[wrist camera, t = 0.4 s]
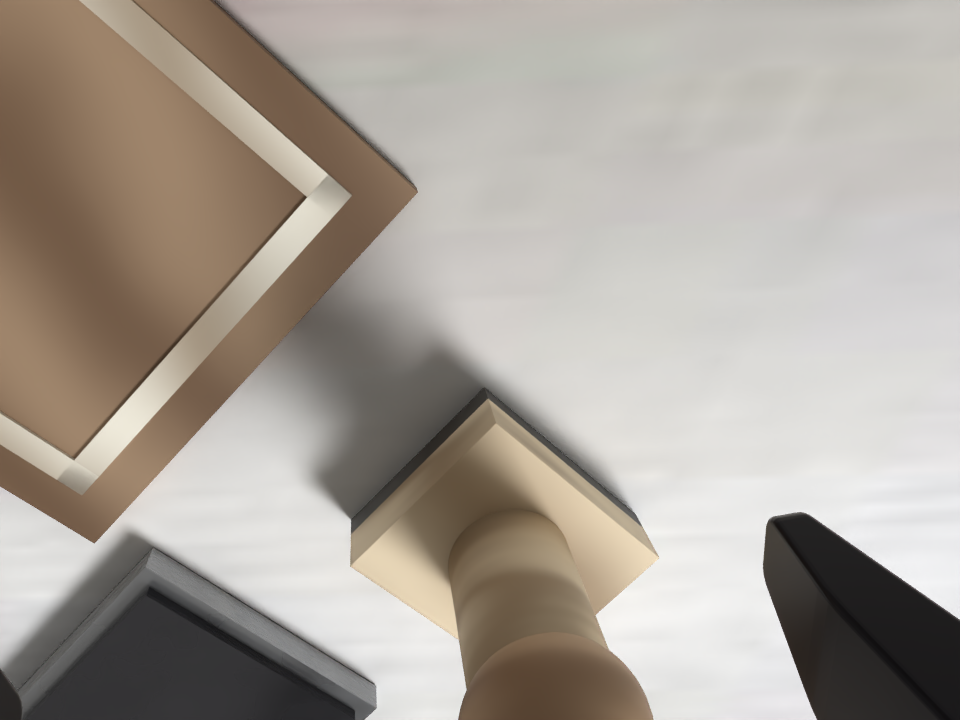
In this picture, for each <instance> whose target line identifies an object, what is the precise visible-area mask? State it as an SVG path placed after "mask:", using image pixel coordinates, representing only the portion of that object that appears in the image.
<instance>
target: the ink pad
mask: <svg viewBox="0 0 960 720" xmlns="http://www.w3.org/2000/svg"><path fill="white" fill-rule="evenodd" d="M17 692H18V694H19V695H20V698H21V701H22V707H23V716H22V720H364V719H365V718H367V717H368V716H369V715H370V714H371V713H372V712H373V711H374V710H375V709H376V708H377V706H376V686H375V685H374V684H372V683H371V682H369V681H367V680H366V679H364V678H363V677H361V676H359V675H358V674H356V673H354V672H353V671H351V670H350V669H348V668H346V667H345V666H343V665H342V664H340V663H338V662H337V661H335V660H334V659H332V658H330V657H329V656H327V655H326V654H324V653H322V652H321V651H319V650H317V649H316V648H314V647H313V646H311V645H309V644H308V643H306V642H305V641H303V640H301V639H300V638H298V637H297V636H295V635H293V634H292V633H290V632H289V631H287V630H285V629H284V628H282V627H281V626H279V625H277V624H276V623H274V622H272V621H271V620H269V619H268V618H266V617H264V616H263V615H261V614H260V613H258V612H256V611H255V610H253V609H252V608H250V607H248V606H247V605H245V604H244V603H242V602H240V601H239V600H237V599H235V598H234V597H232V596H231V595H229V594H227V593H226V592H224V591H223V590H221V589H219V588H218V587H216V586H215V585H213V584H211V583H210V582H208V581H207V580H205V579H203V578H202V577H200V576H198V575H197V574H195V573H194V572H192V571H190V570H189V569H187V568H186V567H184V566H182V565H181V564H179V563H178V562H176V561H174V560H173V559H171V558H170V557H168V556H166V555H165V554H163V553H162V552H160V551H158V550H157V549H155V548H152V549H151V550H150V551H149V552H148V553H147V555H146V556H145V557H144V558H143V559H142V560H141V561H140V562H139V563H138V564H137V565H136V566H135V567H134V568H133V569H132V570H131V571H130V573H129V574H128V575H127V576H126V577H125V578H124V579H123V580H122V581H121V582H120V583H119V584H118V585H117V586H116V587H115V588H114V590H113V591H112V592H111V593H110V594H109V595H108V596H107V597H106V598H105V599H104V600H103V601H102V602H101V603H100V604H99V605H98V607H97V608H96V609H95V610H94V611H93V612H92V613H91V614H90V615H89V616H88V617H87V618H86V619H85V620H84V621H83V622H82V623H81V625H80V626H79V627H78V628H77V629H76V630H75V631H74V632H73V633H72V634H71V635H70V636H69V637H68V638H67V639H66V640H65V642H64V643H63V644H62V645H61V646H60V647H59V648H58V649H57V650H56V651H55V652H54V653H53V654H52V655H51V656H50V657H49V658H48V660H47V661H46V662H45V663H44V664H43V665H42V666H41V667H40V668H39V669H38V670H37V671H36V672H35V673H34V674H33V675H32V677H31V678H30V679H29V680H28V681H27V682H26V683H25V684H24V685H23V686H22V687H21V688H20V689H19V690H18V691H17Z"/></svg>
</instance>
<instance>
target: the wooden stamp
mask: <svg viewBox="0 0 960 720" xmlns="http://www.w3.org/2000/svg"><path fill="white" fill-rule="evenodd" d="M658 559H659V556H658V554H657V553H656V551H655V549H654V547H653V545H652V543H651V542H650V540H649V538H648V536H647V534H646V532H645V531H644V529H643V527H642V525H641V523H640V521H639V520H638V518H637V516H636V514H634V513H633V512H632V511H631V510H630V509H628V508H627V507H626V506H625V505H624V504H622V503H621V502H620V501H619V500H618V499H617V498H615V497H614V496H613V495H612V494H611V493H609V492H608V491H607V490H606V489H605V488H603V487H602V486H601V485H600V484H599V483H598V482H596V481H595V480H594V479H593V478H592V477H590V476H589V475H588V474H587V473H586V472H584V471H583V470H582V469H581V468H580V467H578V466H577V465H576V464H575V463H574V462H573V461H571V460H570V459H569V458H568V457H567V456H565V455H564V454H563V453H562V452H561V451H559V450H558V449H557V448H556V447H555V446H554V445H552V444H551V443H550V442H549V441H548V440H546V439H545V438H544V437H543V436H542V435H540V434H539V433H538V432H537V431H536V430H535V429H533V428H532V427H531V426H530V425H529V424H527V423H526V422H525V421H524V420H523V419H521V418H520V417H519V416H518V415H517V414H515V413H514V412H513V411H512V410H511V409H510V408H508V407H507V406H506V405H505V404H504V403H502V402H501V401H500V400H499V399H498V398H496V397H495V396H494V395H493V394H492V393H491V392H489V391H488V390H487V389H486V388H485V387H484V388H483V389H482V390H481V391H480V392H479V393H478V394H477V395H476V396H475V397H474V398H473V399H472V400H471V401H470V402H469V403H468V404H467V405H466V406H465V407H464V408H463V409H462V410H461V411H460V412H459V413H458V414H457V415H456V416H455V417H454V418H453V419H452V420H451V421H450V422H449V423H448V424H447V425H446V426H445V427H444V428H443V429H442V430H441V431H440V432H439V433H438V434H437V435H436V436H435V437H434V438H433V439H432V440H431V441H430V442H429V443H428V444H427V445H426V446H425V447H424V448H423V449H422V450H421V451H420V452H419V453H418V454H417V455H416V456H415V457H414V458H413V459H412V460H411V461H410V462H409V463H408V464H407V465H406V466H405V467H404V468H403V469H402V470H401V471H400V472H399V473H398V474H397V475H396V476H395V477H394V478H393V479H392V480H391V481H390V482H389V483H388V484H387V485H386V486H385V487H384V488H383V489H382V490H381V491H380V492H379V493H378V494H377V495H376V496H375V497H374V498H373V499H372V500H371V501H370V502H369V503H368V504H367V505H366V506H365V507H364V508H363V509H362V510H361V511H360V512H359V513H358V514H357V515H356V516H355V517H354V518H353V519H352V520H351V558H350V567H352V568H353V569H355V570H356V571H358V572H359V573H361V574H362V575H364V576H365V577H367V578H368V579H370V580H371V581H373V582H374V583H376V584H377V585H378V586H380V587H381V588H383V589H384V590H386V591H387V592H389V593H390V594H392V595H393V596H395V597H396V598H398V599H399V600H401V601H402V602H404V603H405V604H406V605H408V606H409V607H411V608H412V609H414V610H415V611H417V612H418V613H420V614H421V615H423V616H424V617H426V618H427V619H429V620H430V621H432V622H433V623H434V624H436V625H437V626H439V627H440V628H442V629H443V630H445V631H446V632H448V633H449V634H451V635H452V636H454V637H455V638H457V639H458V640H459V643H460V650H461V656H462V663H463V669H464V676H465V682H466V688H467V691H466V693H465V696H464V698H463V701H462V705H461V709H460V713H459V718H458V720H653V715H652V712H651V709H650V706H649V703H648V700H647V698H646V695H645V693H644V692H643V690H642V688H641V686H640V684H639V682H638V681H637V679H636V678H635V676H634V675H633V674H632V672H631V671H630V670H629V669H628V667H627V666H626V665H625V664H624V663H623V662H622V661H621V660H620V659H619V658H618V657H617V656H615V655H614V654H613V653H612V652H611V651H609V649H608V647H607V644H606V642H605V639H604V636H603V634H602V631H601V629H600V626H599V624H598V621H597V618H596V616H595V615H596V614H597V613H598V612H599V611H600V610H601V609H603V608H604V607H605V606H606V605H607V604H608V603H609V602H610V601H612V600H613V599H614V598H615V597H616V596H617V595H618V594H619V593H621V592H622V591H623V590H624V589H625V588H626V587H627V586H628V585H630V584H631V583H632V582H633V581H634V580H635V579H636V578H637V577H639V576H640V575H641V574H642V573H643V572H644V571H645V570H646V569H648V568H649V567H650V566H651V565H652V564H653V563H654V562H655V561H657V560H658Z"/></svg>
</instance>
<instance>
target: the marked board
mask: <svg viewBox="0 0 960 720" xmlns="http://www.w3.org/2000/svg"><path fill="white" fill-rule="evenodd" d="M417 193H418V191H417V188H416V187H415V186H414V185H413V184H412V183H411V182H410V181H408V180H407V179H406V178H405V177H404V176H403V175H402V174H401V173H400V172H399V171H398V170H397V169H395V168H394V167H393V166H392V165H391V164H390V163H389V162H388V161H387V160H386V159H385V158H384V157H382V156H381V155H380V154H379V153H378V152H377V151H376V150H375V149H374V148H373V147H372V146H371V145H369V144H368V143H367V142H366V141H365V140H364V139H363V138H362V137H361V136H360V135H359V134H358V133H356V132H355V131H354V130H353V129H352V128H351V127H350V126H349V125H348V124H347V123H346V122H345V121H343V120H342V119H341V118H340V117H339V116H338V115H337V114H336V113H335V112H334V111H333V110H332V109H330V108H329V107H328V106H327V105H326V104H325V103H324V102H323V101H322V100H321V99H320V98H319V97H317V96H316V95H315V94H314V93H313V92H312V91H311V90H310V89H309V88H308V87H307V86H306V85H304V84H303V83H302V82H301V81H300V80H299V79H298V78H297V77H296V76H295V75H294V74H293V73H291V72H290V71H289V70H288V69H287V68H286V67H285V66H284V65H283V64H282V63H281V62H280V61H278V60H277V59H276V58H275V57H274V56H273V55H272V54H271V53H270V52H269V51H268V50H267V49H265V48H264V47H263V46H262V45H261V44H260V43H259V42H258V41H257V40H256V39H255V38H254V37H252V36H251V35H250V34H249V33H248V32H247V31H246V30H245V29H244V28H243V27H242V26H241V25H239V24H238V23H237V22H236V21H235V20H234V19H233V18H232V17H231V16H230V15H229V14H228V13H226V12H225V11H224V10H223V9H222V8H221V7H220V6H219V5H218V4H217V3H216V2H215V1H213V0H0V486H1V487H2V488H4V489H5V490H7V491H9V492H10V493H12V494H14V495H15V496H17V497H19V498H20V499H22V500H24V501H25V502H27V503H29V504H30V505H32V506H34V507H35V508H37V509H38V510H40V511H42V512H43V513H45V514H47V515H48V516H50V517H52V518H53V519H55V520H57V521H58V522H60V523H62V524H63V525H65V526H67V527H68V528H70V529H71V530H73V531H75V532H76V533H78V534H80V535H81V536H83V537H85V538H86V539H88V540H90V541H91V542H93V543H95V542H96V541H97V540H98V539H99V538H100V537H101V536H102V535H103V534H104V533H105V532H106V530H107V529H108V528H109V527H110V526H111V525H112V524H113V523H114V522H115V521H116V520H117V519H118V517H119V516H120V515H121V514H122V513H123V512H124V511H125V510H126V509H127V508H128V507H129V505H130V504H131V503H132V502H133V501H134V500H135V499H136V498H137V497H138V496H139V495H140V494H141V492H142V491H143V490H144V489H145V488H146V487H147V486H148V485H149V484H150V483H151V482H152V481H153V479H154V478H155V477H156V476H157V475H158V474H159V473H160V472H161V471H162V470H163V469H164V467H165V466H166V465H167V464H168V463H169V462H170V461H171V460H172V459H173V458H174V457H175V456H176V454H177V453H178V452H179V451H180V450H181V449H182V448H183V447H184V446H185V445H186V444H187V442H188V441H189V440H190V439H191V438H192V437H193V436H194V435H195V434H196V433H197V432H198V431H199V429H200V428H201V427H202V426H203V425H204V424H205V423H206V422H207V421H208V420H209V419H210V418H211V416H212V415H213V414H214V413H215V412H216V411H217V410H218V409H219V408H220V407H221V406H222V404H223V403H224V402H225V401H226V400H227V399H228V398H229V397H230V396H231V395H232V394H233V393H234V391H235V390H236V389H237V388H238V387H239V386H240V385H241V384H242V383H243V382H244V381H245V379H246V378H247V377H248V376H249V375H250V374H251V373H252V372H253V371H254V370H255V369H256V368H257V366H258V365H259V364H260V363H261V362H262V361H263V360H264V359H265V358H266V357H267V356H268V354H269V353H270V352H271V351H272V350H273V349H274V348H275V347H276V346H277V345H278V344H279V343H280V341H281V340H282V339H283V338H284V337H285V336H286V335H287V334H288V333H289V332H290V331H291V330H292V328H293V327H294V326H295V325H296V324H297V323H298V322H299V321H300V320H301V319H302V318H303V316H304V315H305V314H306V313H307V312H308V311H309V310H310V309H311V308H312V307H313V306H314V305H315V303H316V302H317V301H318V300H319V299H320V298H321V297H322V296H323V295H324V294H325V293H326V291H327V290H328V289H329V288H330V287H331V286H332V285H333V284H334V283H335V282H336V281H337V280H338V278H339V277H340V276H341V275H342V274H343V273H344V272H345V271H346V270H347V269H348V268H349V267H350V265H351V264H352V263H353V262H354V261H355V260H356V259H357V258H358V257H359V256H360V255H361V253H362V252H363V251H364V250H365V249H366V248H367V247H368V246H369V245H370V244H371V243H372V242H373V240H374V239H375V238H376V237H377V236H378V235H379V234H380V233H381V232H382V231H383V230H384V228H385V227H386V226H387V225H388V224H389V223H390V222H391V221H392V220H393V219H394V218H395V217H396V215H397V214H398V213H399V212H400V211H401V210H402V209H403V208H404V207H405V206H406V205H407V204H408V202H409V201H410V200H411V199H412V198H413V197H414V196H415V195H416V194H417Z"/></svg>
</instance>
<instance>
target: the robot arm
mask: <svg viewBox="0 0 960 720" xmlns="http://www.w3.org/2000/svg"><path fill="white" fill-rule="evenodd" d="M763 572H764V578H765V582H766V585H767V588H768V591H769V594H770V596H771V599H772V602H773V605H774V607H775V610H776V613H777V616H778V618H779V621H780V624H781V627H782V629H783V632H784V635H785V637H786V640H787V643H788V646H789V648H790V651H791V654H792V657H793V659H794V662H795V665H796V667H797V670H798V673H799V676H800V678H801V681H802V684H803V687H804V689H805V692H806V694H807V697H808V700H809V702H810V705H811V707H812V710H813V712H814V714H815V716H816V718H817V720H960V620H959V619H958V618H956V617H955V616H954V615H952V614H951V613H949V612H948V611H946V610H945V609H944V608H942V607H941V606H939V605H938V604H936V603H935V602H934V601H932V600H931V599H929V598H928V597H926V596H925V595H923V594H922V593H921V592H919V591H918V590H916V589H915V588H913V587H912V586H911V585H909V584H908V583H906V582H905V581H903V580H902V579H901V578H899V577H898V576H896V575H895V574H893V573H892V572H890V571H889V570H888V569H886V568H885V567H883V566H882V565H880V564H879V563H878V562H876V561H875V560H873V559H872V558H870V557H869V556H868V555H866V554H865V553H863V552H862V551H860V550H859V549H858V548H856V547H855V546H853V545H852V544H850V543H849V542H847V541H846V540H845V539H843V538H842V537H840V536H839V535H837V534H836V533H835V532H833V531H832V530H830V529H829V528H827V527H826V526H825V525H823V524H822V523H820V522H819V521H817V520H816V519H814V518H813V517H812V516H810V515H808V514H806V513H802V512H797V513H791V514H785V515H780V516H774V517H772V518H770V519H769V521H768V522H767V526H766V536H765V548H764V560H763ZM22 716H23V707H22V701H21V698H20V695H19V694H18V692H17V691H16V689H15V688H14V687H13V685H12V684H11V683H10V681H9V680H8V678H7V677H6V676H5V674H4V673H3V672H2V670H1V669H0V720H22Z"/></svg>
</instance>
